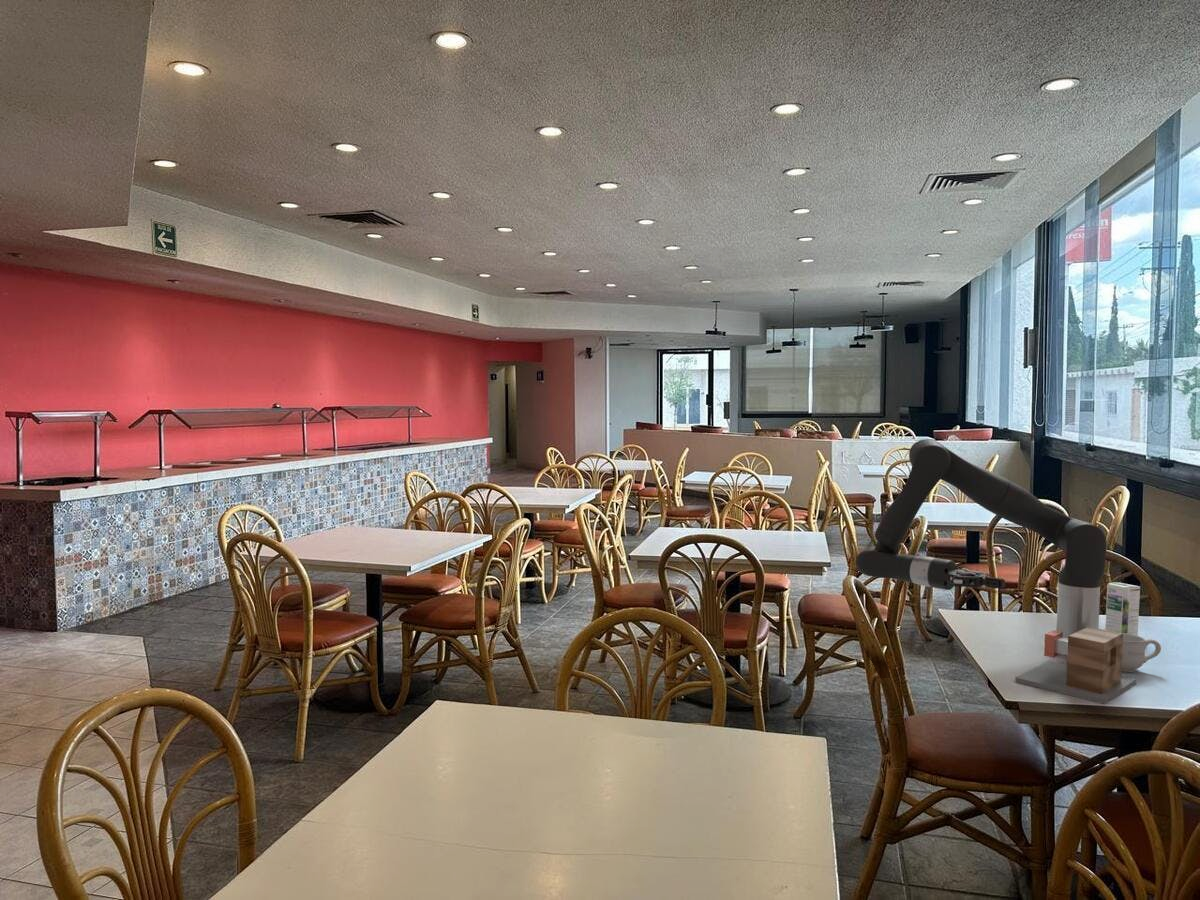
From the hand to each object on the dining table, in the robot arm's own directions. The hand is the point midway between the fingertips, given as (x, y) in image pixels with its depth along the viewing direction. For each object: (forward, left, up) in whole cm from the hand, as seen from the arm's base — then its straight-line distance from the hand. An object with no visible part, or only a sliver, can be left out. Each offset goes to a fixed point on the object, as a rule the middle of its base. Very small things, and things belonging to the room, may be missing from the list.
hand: (1003, 584), depth 194 cm
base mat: (-1, +16, -20) cm, 25 cm away
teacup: (-21, +20, -20) cm, 35 cm away
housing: (0, +20, -20) cm, 28 cm away
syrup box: (-52, +10, -20) cm, 57 cm away
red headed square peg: (0, +15, -14) cm, 21 cm away
